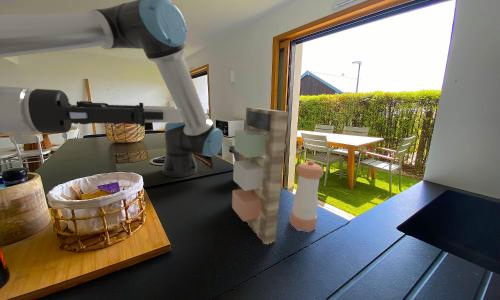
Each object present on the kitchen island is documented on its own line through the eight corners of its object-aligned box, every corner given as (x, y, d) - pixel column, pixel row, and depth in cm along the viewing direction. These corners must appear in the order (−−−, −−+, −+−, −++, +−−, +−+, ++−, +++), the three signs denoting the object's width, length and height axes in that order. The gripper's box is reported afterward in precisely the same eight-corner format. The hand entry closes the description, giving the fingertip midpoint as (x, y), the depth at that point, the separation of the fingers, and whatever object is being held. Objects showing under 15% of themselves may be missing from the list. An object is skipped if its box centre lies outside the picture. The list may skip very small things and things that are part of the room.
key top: (234, 150, 51) (235, 130, 50) (251, 149, 53) (252, 130, 52) (246, 157, 45) (247, 135, 44) (265, 155, 47) (267, 134, 46)
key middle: (233, 179, 53) (233, 161, 52) (250, 177, 55) (251, 159, 54) (244, 190, 47) (245, 170, 46) (263, 187, 49) (264, 168, 48)
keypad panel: (238, 215, 61) (244, 107, 53) (249, 213, 63) (256, 107, 55) (262, 245, 49) (274, 111, 41) (275, 241, 51) (288, 111, 43)
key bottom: (232, 207, 55) (232, 190, 54) (248, 204, 57) (249, 187, 56) (243, 221, 49) (244, 202, 48) (261, 217, 51) (262, 198, 50)
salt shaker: (314, 235, 54) (325, 167, 50) (287, 228, 56) (295, 162, 52) (316, 221, 61) (325, 159, 56) (291, 215, 63) (298, 155, 59)
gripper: (60, 125, 44) (172, 124, 55) (8, 145, 27) (186, 139, 38) (54, 89, 43) (171, 96, 53) (-5, 86, 25) (185, 97, 36)
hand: (177, 114), depth 45 cm, fingers open, 7 cm apart
